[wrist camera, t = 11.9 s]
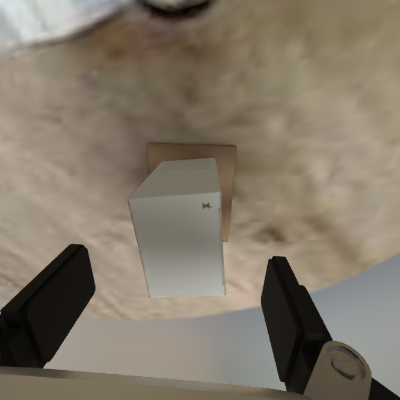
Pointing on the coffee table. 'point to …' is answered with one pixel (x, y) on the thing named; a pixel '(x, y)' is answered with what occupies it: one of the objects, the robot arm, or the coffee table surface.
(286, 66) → the coffee table surface
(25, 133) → the coffee table surface
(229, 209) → the walnut coaster board
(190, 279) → the small box
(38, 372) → the robot arm
